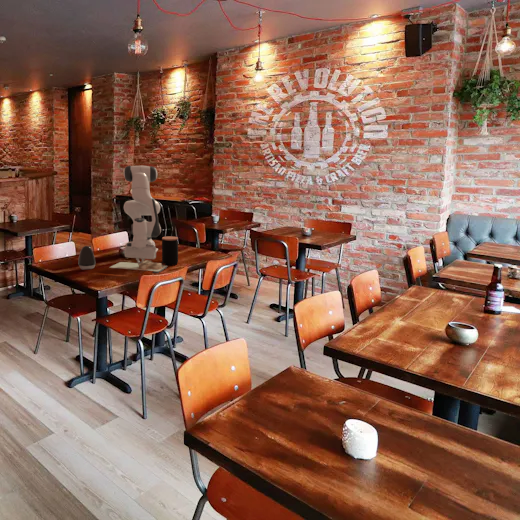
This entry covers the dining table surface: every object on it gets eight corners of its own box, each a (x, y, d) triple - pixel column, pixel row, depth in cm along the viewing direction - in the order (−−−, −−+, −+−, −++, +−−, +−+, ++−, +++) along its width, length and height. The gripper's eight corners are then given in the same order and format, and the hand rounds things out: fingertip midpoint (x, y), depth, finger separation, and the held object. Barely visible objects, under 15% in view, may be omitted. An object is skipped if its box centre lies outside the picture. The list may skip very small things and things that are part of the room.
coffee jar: (172, 261, 322) (172, 235, 318) (181, 264, 314) (181, 238, 310) (159, 263, 314) (158, 237, 310) (167, 266, 307) (167, 239, 303)
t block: (138, 268, 293) (138, 264, 292) (146, 264, 304) (146, 260, 303) (156, 270, 291) (156, 265, 290) (163, 266, 302) (163, 261, 302)
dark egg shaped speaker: (98, 268, 295) (97, 244, 292) (91, 272, 285) (90, 247, 282) (83, 267, 296) (82, 243, 293) (75, 271, 286) (74, 246, 283)
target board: (120, 263, 309) (120, 261, 309) (167, 267, 304) (167, 265, 304) (109, 269, 294) (109, 267, 294) (158, 273, 289) (158, 271, 289)
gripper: (157, 244, 297) (157, 265, 300) (127, 241, 300) (128, 262, 303) (153, 245, 291) (154, 267, 294) (123, 243, 294) (123, 264, 297)
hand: (140, 264), depth 298 cm, fingers closed
